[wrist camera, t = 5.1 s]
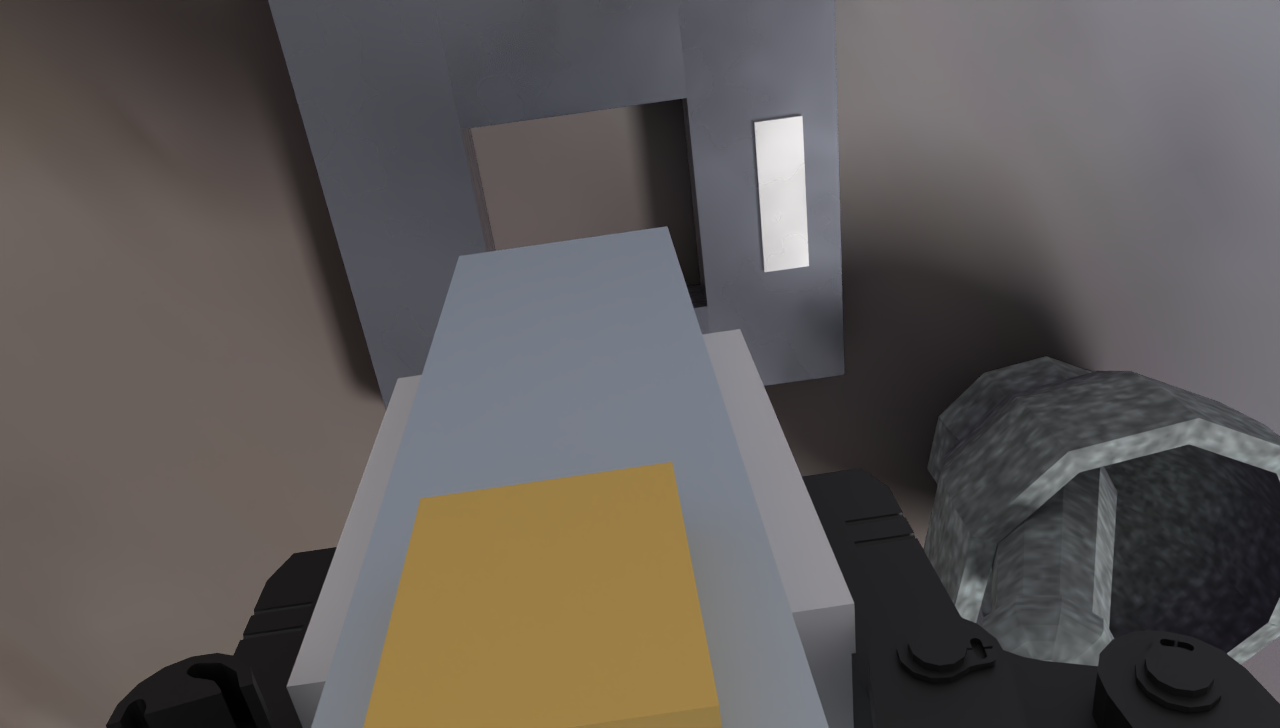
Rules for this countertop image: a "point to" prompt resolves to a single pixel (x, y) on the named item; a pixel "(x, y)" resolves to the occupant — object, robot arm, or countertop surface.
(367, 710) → the plug
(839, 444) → the countertop surface
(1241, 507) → the mortar and pestle
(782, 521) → the robot arm
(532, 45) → the port panel
